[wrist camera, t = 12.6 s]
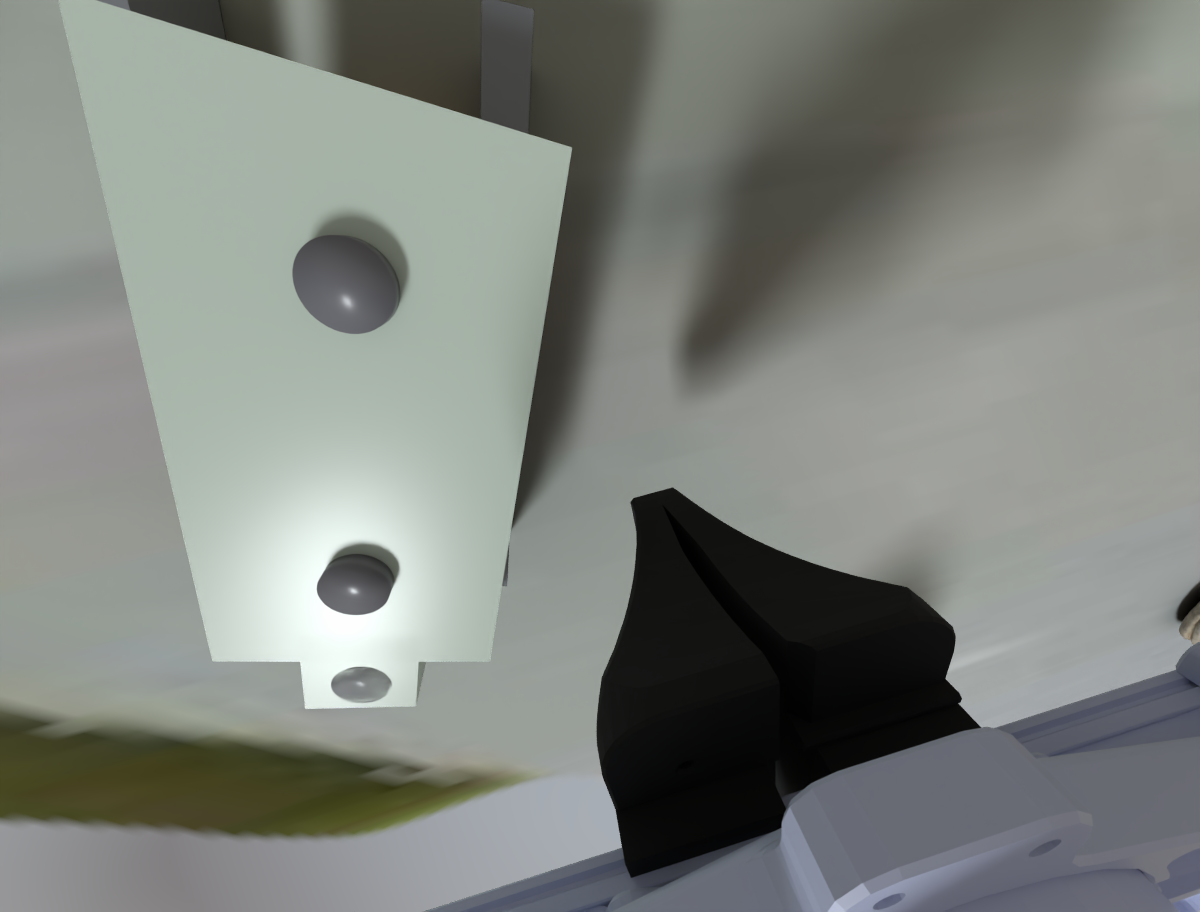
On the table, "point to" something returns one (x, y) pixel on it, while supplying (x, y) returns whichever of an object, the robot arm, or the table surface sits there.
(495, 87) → the long grey beam
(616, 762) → the robot arm
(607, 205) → the table surface
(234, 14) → the table surface
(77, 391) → the table surface
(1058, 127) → the table surface
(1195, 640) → the carving
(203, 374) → the cover
